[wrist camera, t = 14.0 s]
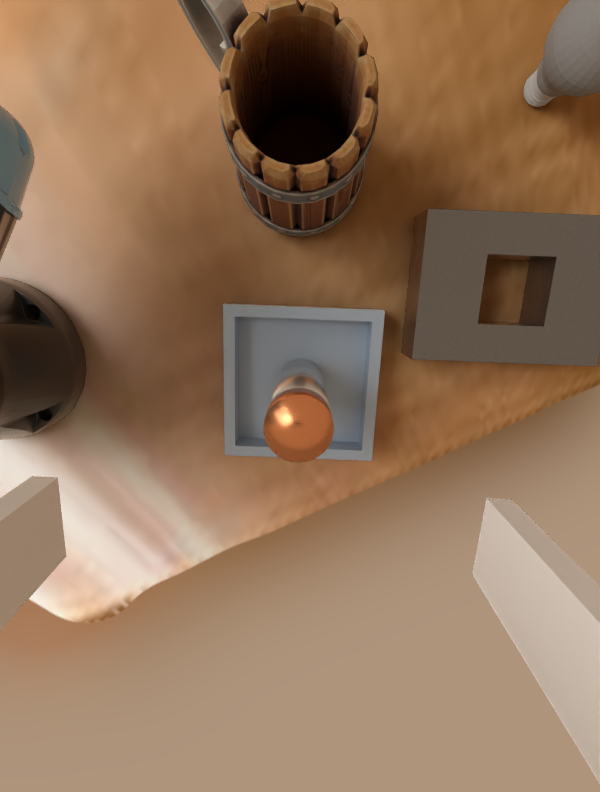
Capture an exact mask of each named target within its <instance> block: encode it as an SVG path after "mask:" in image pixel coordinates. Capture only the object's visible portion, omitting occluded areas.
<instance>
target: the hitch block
mask: <svg viewBox="0 0 600 792" xmlns="http://www.w3.org/2000/svg"><path fill="white" fill-rule="evenodd" d="M487 259H500V260H526V261H530V263H529V269H528V275H527V281H526V286H525V292H524V298H523V304H522V310H521V316H520V322H519V323H500V322H478V318H479V311H480V304H481V297H482V290H483V283H484V276H485V269H486V263H487ZM401 353H403V354H404V355H406V356H408V357H409V358H411V359H420V360H446V361H472V362H498V363H523V364H549V365H575V366H597V364H598V360H599V355H600V215H578V214H552V213H526V212H500V211H474V210H448V209H427V210H426V211H424V212H423V213H421V214H420V215H418V216H417V217H415V219H414V229H413V239H412V249H411V259H410V269H409V279H408V289H407V299H406V309H405V319H404V329H403V339H402V349H401Z"/></svg>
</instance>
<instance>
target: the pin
mask: <svg viewBox="0 0 600 792" xmlns="http://www.w3.org/2000/svg"><path fill="white" fill-rule="evenodd" d="M263 433H264V438H265V440H266V443H267V445H268V446H269V448H270V449H271V450H272V451H273V452H274V453H275V454H276V455H277V456H279V457H280V458H282V459H285V460H287V461H291V462H307V461H310V460H313V459H315V458H317V457H319V456H320V455H321V454H323V453H324V452H325V451H326V449H327V448H328V447H329V445H330V443H331V441H332V438H333V434H334V424H333V419H332V414H331V410H330V406H329V401H328V397H327V392H326V388H325V383H324V379H323V375H322V372H321V370H320V369H319V367H318V366H317V365H316V364H314V363H313V362H311V361H309V360H306V359H295V360H292V361H290V362H288V363H287V364H285V365H284V366H283V368H282V369H281V371H280V373H279V375H278V378H277V382H276V385H275V388H274V391H273V394H272V397H271V401H270V404H269V407H268V410H267V413H266V416H265V420H264V425H263Z"/></svg>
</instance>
